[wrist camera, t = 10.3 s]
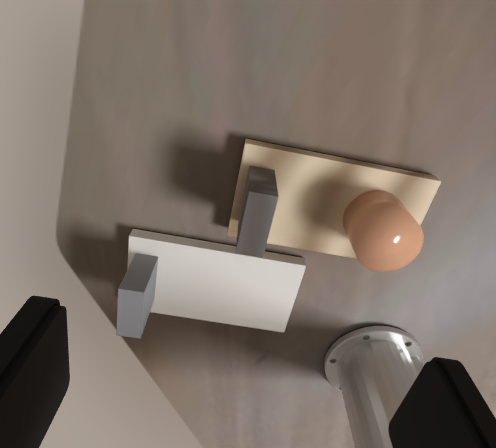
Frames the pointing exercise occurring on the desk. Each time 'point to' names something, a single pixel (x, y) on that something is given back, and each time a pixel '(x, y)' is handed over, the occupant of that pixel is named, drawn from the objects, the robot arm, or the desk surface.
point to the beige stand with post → (311, 197)
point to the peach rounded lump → (382, 231)
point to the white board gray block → (205, 284)
